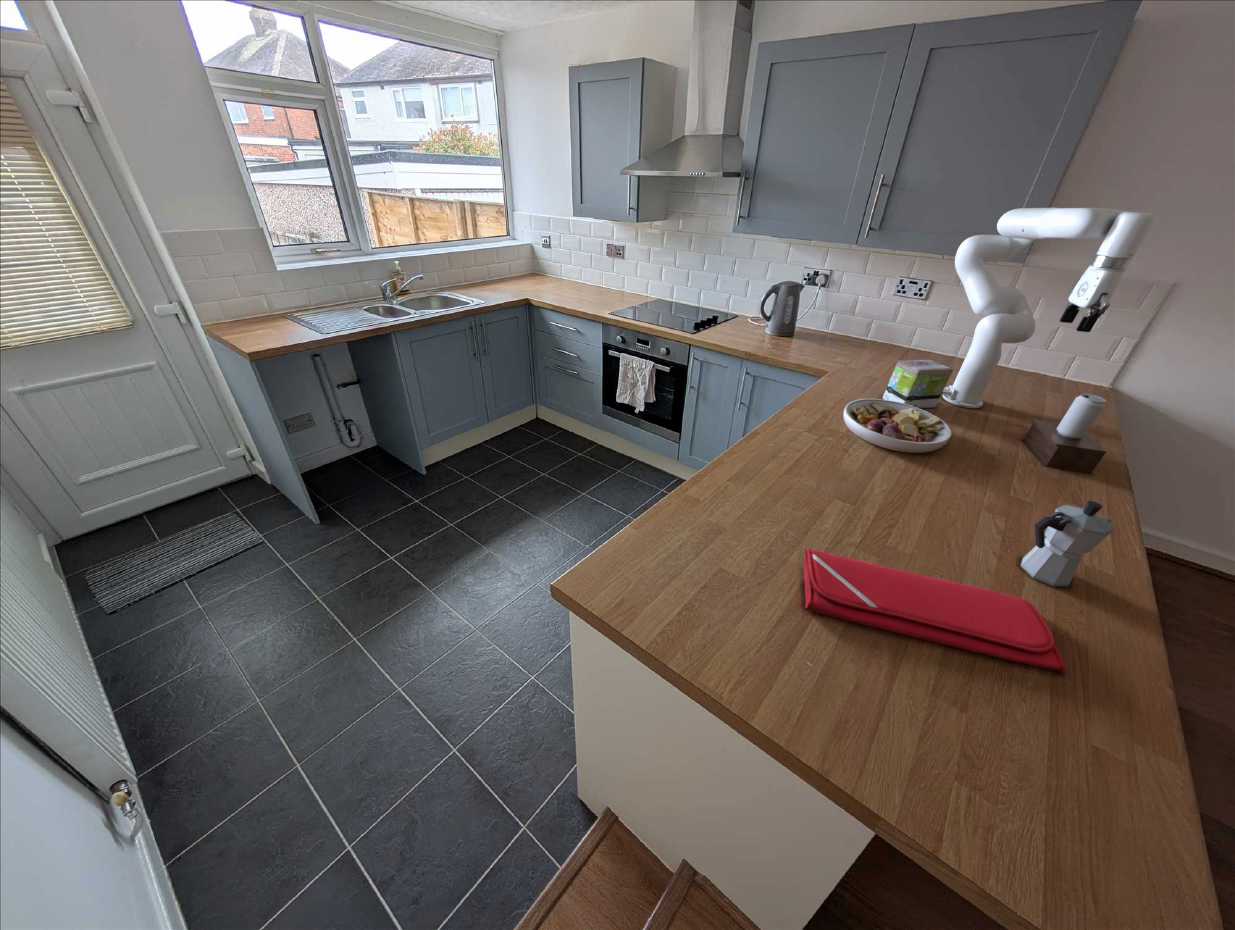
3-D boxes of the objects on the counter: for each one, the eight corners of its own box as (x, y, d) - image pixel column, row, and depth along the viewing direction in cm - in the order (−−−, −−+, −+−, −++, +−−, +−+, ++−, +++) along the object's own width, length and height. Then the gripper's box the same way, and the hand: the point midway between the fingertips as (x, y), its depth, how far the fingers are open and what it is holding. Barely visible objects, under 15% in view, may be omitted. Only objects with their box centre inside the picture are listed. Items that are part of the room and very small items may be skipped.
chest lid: (1055, 446, 134) (1056, 443, 133) (1030, 421, 147) (1031, 419, 146) (1105, 453, 131) (1106, 451, 131) (1075, 427, 144) (1076, 425, 144)
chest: (1046, 466, 137) (1058, 446, 134) (1022, 440, 150) (1033, 421, 147) (1091, 473, 135) (1105, 454, 131) (1063, 446, 148) (1075, 428, 144)
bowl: (847, 404, 167) (855, 383, 163) (944, 428, 155) (955, 406, 150) (832, 438, 145) (840, 415, 141) (944, 469, 133) (956, 445, 128)
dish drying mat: (1062, 676, 78) (1075, 663, 76) (805, 613, 87) (810, 599, 85) (1022, 605, 91) (1033, 592, 89) (801, 556, 100) (806, 543, 98)
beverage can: (1055, 427, 142) (1078, 390, 136) (1082, 434, 139) (1107, 397, 133) (1055, 434, 138) (1078, 397, 132) (1083, 442, 135) (1108, 404, 128)
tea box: (902, 411, 164) (918, 370, 156) (881, 398, 172) (896, 360, 165) (936, 407, 168) (954, 368, 160) (914, 396, 176) (930, 358, 168)
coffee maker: (1056, 557, 103) (1106, 490, 94) (1091, 588, 96) (1149, 519, 86) (991, 556, 103) (1034, 489, 93) (1021, 587, 95) (1072, 517, 86)
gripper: (1077, 257, 136) (1045, 317, 145) (1111, 267, 122) (1073, 333, 131) (1108, 260, 134) (1073, 320, 144) (1146, 270, 120) (1105, 337, 130)
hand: (1073, 326), depth 137 cm, fingers open, 9 cm apart
